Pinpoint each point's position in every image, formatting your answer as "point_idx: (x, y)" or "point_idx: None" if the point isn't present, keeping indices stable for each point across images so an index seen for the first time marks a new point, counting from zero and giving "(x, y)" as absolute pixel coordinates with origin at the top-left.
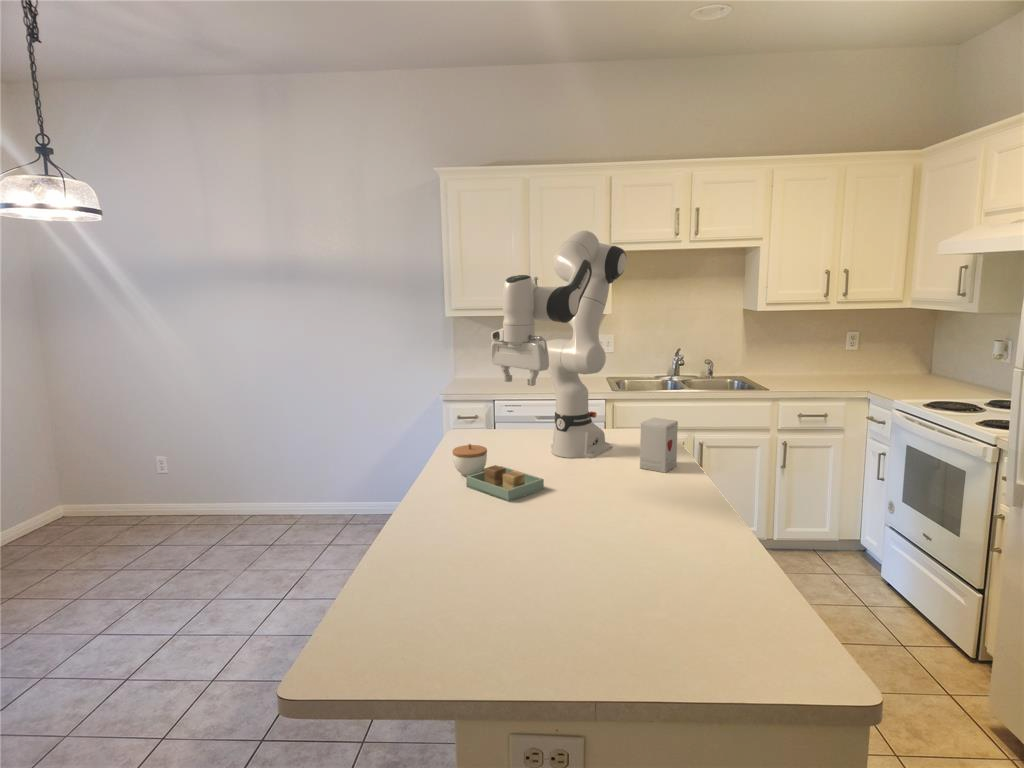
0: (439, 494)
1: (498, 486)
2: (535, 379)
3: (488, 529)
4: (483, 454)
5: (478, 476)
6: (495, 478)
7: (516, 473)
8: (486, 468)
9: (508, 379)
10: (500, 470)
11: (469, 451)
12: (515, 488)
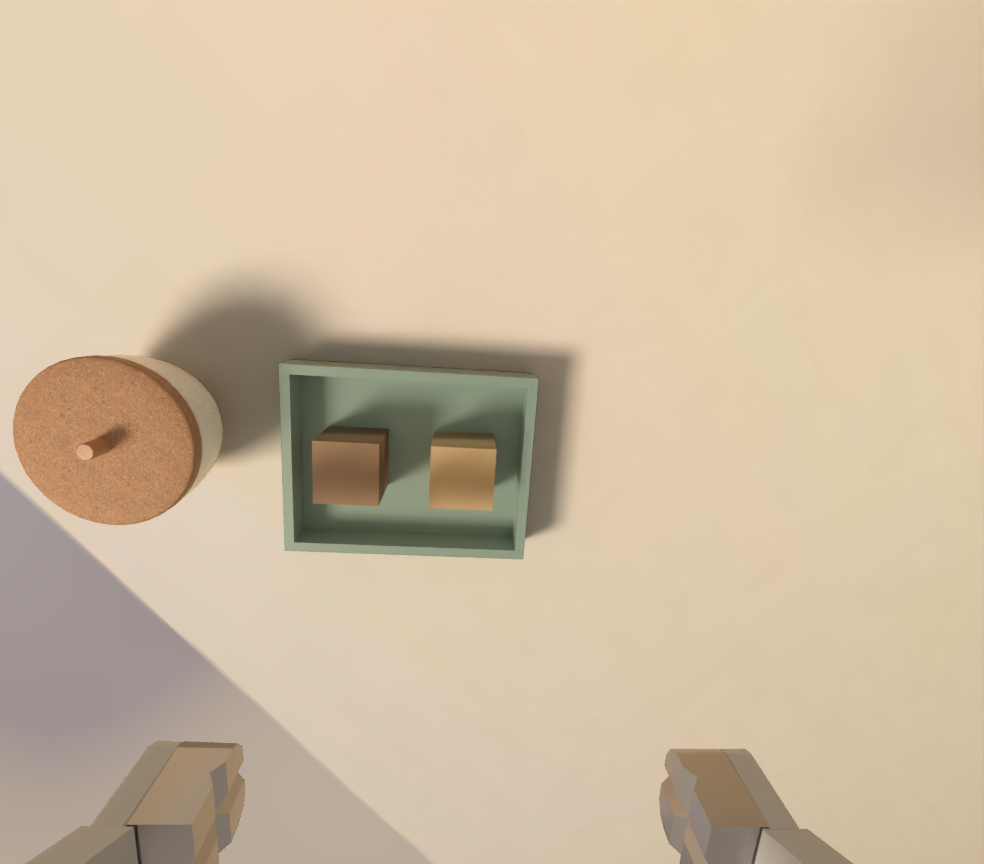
0: (293, 635)
1: (463, 548)
2: (793, 822)
3: (617, 709)
4: (198, 429)
5: (296, 495)
6: (383, 491)
7: (464, 465)
8: (320, 497)
9: (222, 830)
10: (378, 472)
11: (140, 475)
12: (525, 525)
